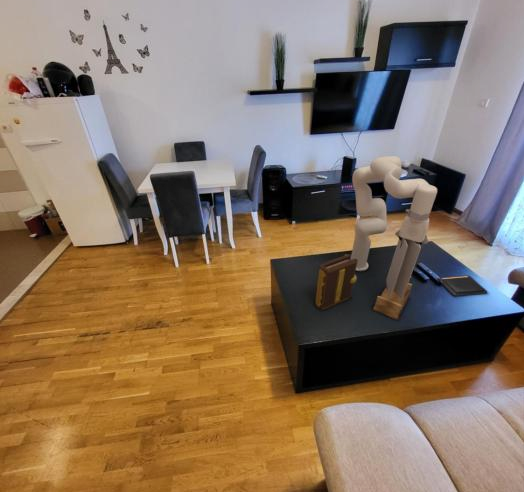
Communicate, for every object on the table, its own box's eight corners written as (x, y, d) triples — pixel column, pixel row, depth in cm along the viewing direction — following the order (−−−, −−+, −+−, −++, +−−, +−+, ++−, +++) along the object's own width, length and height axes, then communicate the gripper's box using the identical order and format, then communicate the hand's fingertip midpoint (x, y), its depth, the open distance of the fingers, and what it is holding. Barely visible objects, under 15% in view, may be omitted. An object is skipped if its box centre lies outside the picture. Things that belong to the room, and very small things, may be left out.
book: (322, 312, 141) (327, 273, 127) (312, 301, 147) (316, 263, 133) (355, 297, 149) (363, 259, 135) (344, 288, 156) (351, 251, 142)
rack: (372, 309, 142) (376, 296, 137) (385, 289, 155) (389, 276, 149) (397, 320, 136) (402, 306, 130) (408, 297, 148) (413, 284, 143)
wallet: (454, 293, 147) (437, 276, 160) (452, 296, 148) (436, 278, 161) (490, 291, 148) (470, 274, 161) (488, 294, 149) (469, 276, 162)
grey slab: (402, 300, 134) (421, 248, 117) (389, 298, 135) (407, 246, 118) (397, 281, 145) (414, 231, 128) (386, 280, 146) (401, 230, 130)
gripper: (395, 212, 119) (385, 248, 129) (438, 223, 110) (424, 261, 120) (400, 206, 123) (390, 241, 134) (442, 216, 115) (428, 253, 125)
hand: (407, 250), depth 127 cm, fingers closed on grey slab, 3 cm apart
